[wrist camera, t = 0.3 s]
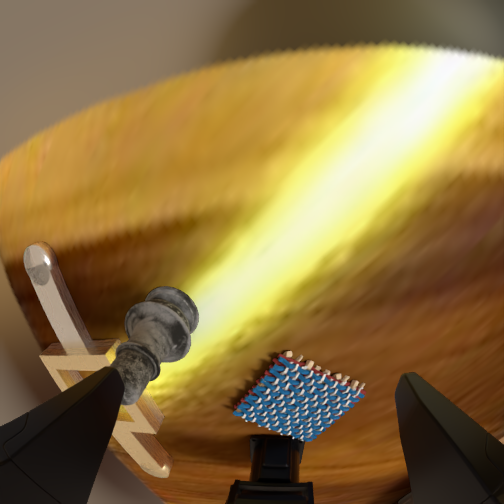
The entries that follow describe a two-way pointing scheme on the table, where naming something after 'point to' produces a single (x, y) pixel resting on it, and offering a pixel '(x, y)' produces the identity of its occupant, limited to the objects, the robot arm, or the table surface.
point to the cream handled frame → (66, 311)
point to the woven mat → (298, 398)
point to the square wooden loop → (128, 424)
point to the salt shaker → (154, 338)
